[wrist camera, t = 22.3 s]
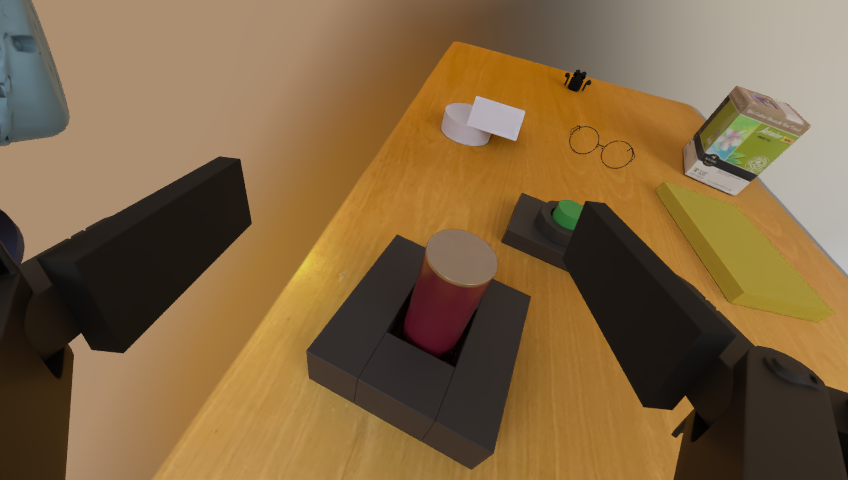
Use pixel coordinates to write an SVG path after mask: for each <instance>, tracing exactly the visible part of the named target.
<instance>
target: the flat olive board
mask: <svg viewBox="0 0 848 480" xmlns="http://www.w3.org/2000/svg"><path fill="white" fill-rule="evenodd" d="M655 192H656V193H657V195H658V196H659V198H660V199H661V201H662V202H663V204H664V205H665V207H666V208H667V210H668V211H669V213H670V214H671V216H672V217H673V219H674V220H675V222H676V223H677V225H678V226H679V228H680V229H681V231H682V232H683V234H684V235H685V237H686V238H687V240H688V241H689V243H690V244H691V246H692V247H693V249H694V250H695V252H696V253H697V255H698V256H699V258H700V259H701V261H702V262H703V264H704V265H705V267H706V268H707V270H708V271H709V273H710V274H711V276H712V277H713V279H714V280H715V282H716V283H717V285H718V286H719V288H720V289H721V291H722V292H723V294H724V295H725V297H726V298H727V300H728V301H729V303H733V304H737V305H742V306H746V307H751V308H755V309H759V310H764V311H768V312H773V313H777V314H782V315H786V316H791V317H795V318H800V319H804V320H809V321H813V322H819V321H821V320H823V319H825V318H827V317H829V316H831V315H833V314H835V312H834V311H833V310H832V309H831V308H830V307H829V306H828V305H827V303H826V302H825V301H824V300H823V299H822V298H821V297H820V296H819V295H818V294H817V293H816V291H815V290H814V289H813V288H812V287H811V286H810V285H809V284H808V283H807V282H806V281H805V280H804V278H803V277H802V276H801V275H800V274H799V273H798V272H797V271H796V270H795V269H794V268H793V266H792V265H791V264H790V263H789V262H788V261H787V260H786V259H785V258H784V257H783V256H782V255H781V253H780V252H779V251H778V250H777V249H776V248H775V247H774V246H773V245H772V244H771V243H770V241H769V240H768V239H767V238H766V237H765V236H764V235H763V234H762V233H761V232H760V231H759V229H758V228H757V227H756V226H755V225H754V224H753V223H752V222H751V221H750V220H749V219H748V218H747V216H746V215H745V214H744V213H743V212H742V211H741V210H740V209H739V208H738V207H737V206H736V205H734V204H731V203H728V202H725V201H722V200H719V199H716V198H713V197H710V196H707V195H704V194H701V193H698V192H695V191H692V190H689V189H686V188H683V187H680V186H677V185H674V184H671V183H668V182H665V181H663V183H662V184H661V185H660V186H659V187H658V188H657V190H656V191H655Z"/></svg>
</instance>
